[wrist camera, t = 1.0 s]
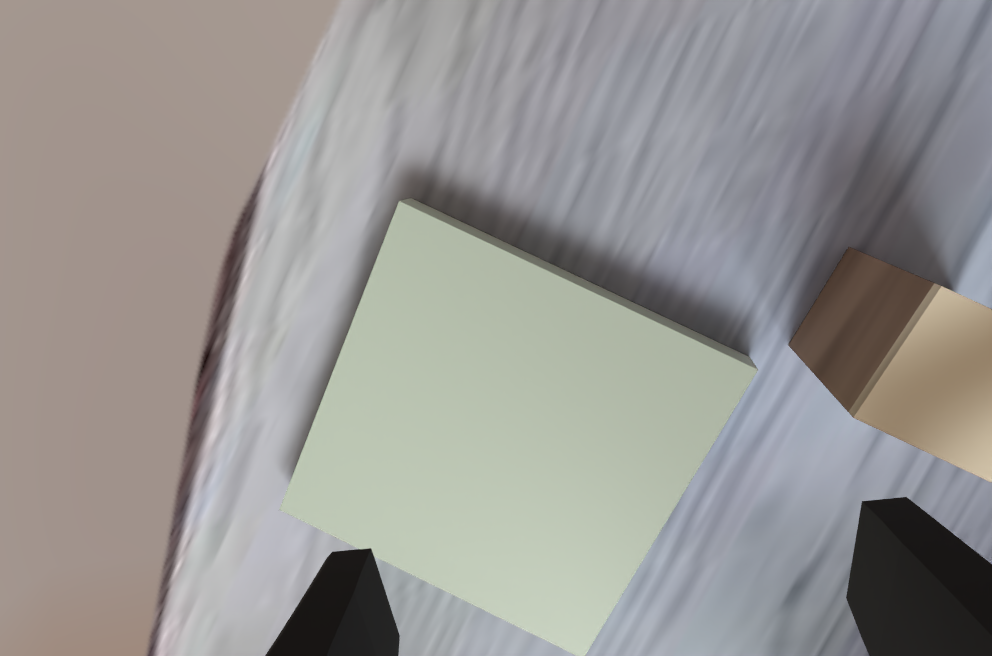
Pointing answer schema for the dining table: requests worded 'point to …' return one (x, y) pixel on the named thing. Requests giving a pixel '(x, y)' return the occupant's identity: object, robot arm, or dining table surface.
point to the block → (905, 358)
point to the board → (509, 427)
